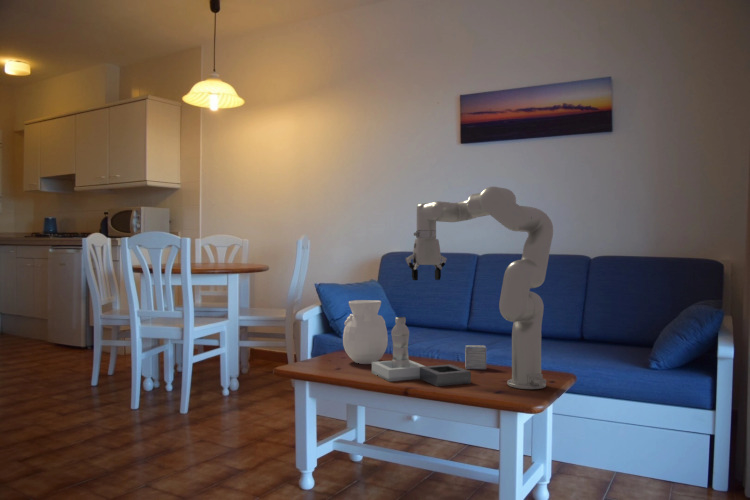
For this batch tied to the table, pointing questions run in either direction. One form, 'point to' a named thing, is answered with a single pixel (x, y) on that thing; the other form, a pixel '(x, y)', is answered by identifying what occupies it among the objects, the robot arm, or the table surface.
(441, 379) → the dark grey storage bin
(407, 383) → the table surface
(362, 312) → the white vase
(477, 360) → the grey upright block
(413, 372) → the tray
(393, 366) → the plastic bottle
